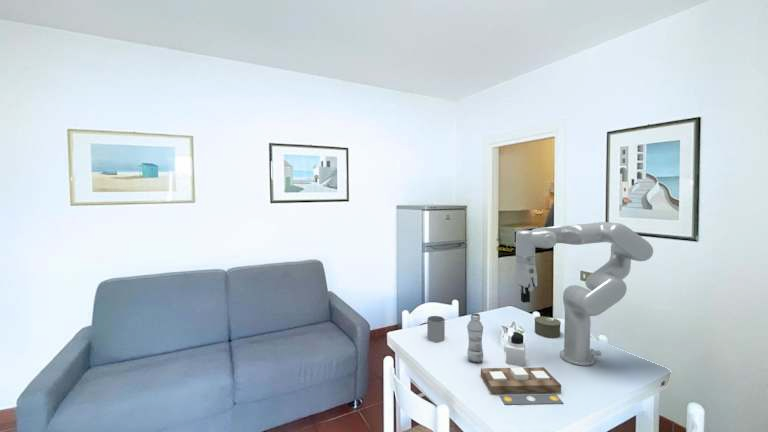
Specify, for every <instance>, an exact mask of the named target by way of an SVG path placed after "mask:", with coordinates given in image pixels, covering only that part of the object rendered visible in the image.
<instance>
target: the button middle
mask: <svg viewBox="0 0 768 432" xmlns="http://www.w3.org/2000/svg"><path fill="white" fill-rule="evenodd" d="M509 368H510V375H511V376H512V377H513V379H514V380H528V373H527V372H526V371H525V370H524V369H523V368H524V367H509Z"/></svg>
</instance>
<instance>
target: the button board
mask: <svg viewBox="0 0 768 432" xmlns="http://www.w3.org/2000/svg"><path fill="white" fill-rule="evenodd" d="M510 368H511V367H492V368H491V367H489V368H488V367H487V368H486V367H484V368H483V367H482V368H480V378H481V379H482V380H483V382H484V384H485V386H486V388H487V390H488V392H489V393H490V394H491V395H545V394H562V384H561V383H560V382H559V381H558V380H557V379H556V378H555V377H554V376H553V375H552V374H551V373H550V372H549V371H548V370H547V369H546V368H545V367H543V366H542V367H534V366H533V367H522V368H523V369H524V370H525V371H526V372H527V373H528V380H514V379H513V377H512V376H511V375H510ZM493 371H502V373H503V374H504V375H505V377H506V378H507V381H493V380H492V378H491V377H490V375H489V372H493ZM531 371H544V372H545V373H546V374H547V375H548V376H549V377H550V380H536V379H535V378H534V377H533V375H532V374H531Z"/></svg>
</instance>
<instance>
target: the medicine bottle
mask: <svg viewBox="0 0 768 432" xmlns="http://www.w3.org/2000/svg"><path fill="white" fill-rule="evenodd" d="M507 335H508V336H507V341H506V345H505V363H506V364H510V365H516V366H520V367H525V363H526V361H525V360H526V359H525V358H526V343H525V342H524V335H523V334H522V333H520V332H519V331H510V332H508V334H507Z"/></svg>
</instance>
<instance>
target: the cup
mask: <svg viewBox="0 0 768 432" xmlns="http://www.w3.org/2000/svg"><path fill="white" fill-rule="evenodd" d="M426 322H427V327H426V328H427V336H426V337H427V340H428V341H429V342H430V343H431V342H432V343H443V342H444V341H445V338H446V336H445V334H446V333H445V331H446V330H445V325H446V321H445V318H444V317H442V316H438V315H431V316H430V315H429V316H428V317H427V320H426Z"/></svg>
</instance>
